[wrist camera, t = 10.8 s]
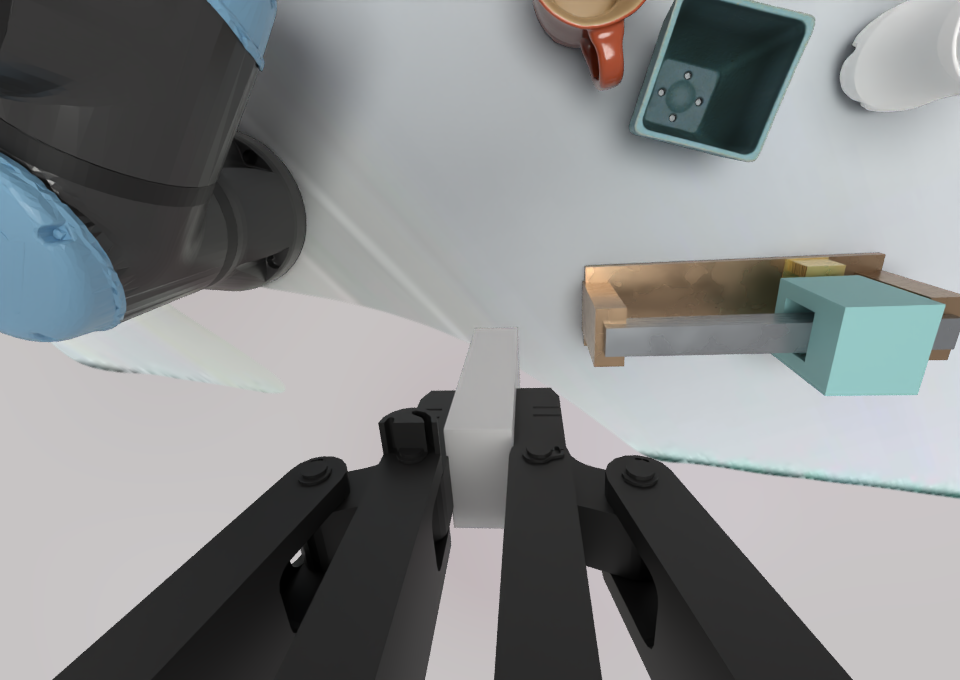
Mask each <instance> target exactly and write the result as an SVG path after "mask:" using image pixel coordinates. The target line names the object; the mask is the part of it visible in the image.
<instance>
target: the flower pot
mask: <svg viewBox="0 0 960 680" xmlns="http://www.w3.org/2000/svg"><path fill="white" fill-rule="evenodd" d="M814 26H815V18H814V17H813V16H812V15H810V14H806V13H802V12H797V11H793V10H789V9H785V8H781V7H775V6H771V5H768V4H763V3H759V2H755V1H752V0H674V2H673V4H672V6H671V8H670V10H669V12H668V14H667V16H666V18H665V20H664V22H663V25H662V27H661V30H660V33H659V36H658V40H657V43H656V46H655V49H654V52H653V55H652V58H651V61H650V64H649V67H648V70H647V73H646V76H645V79H644V82H643V85H642V89H641V92H640V95H639V98H638V101H637V104H636V107H635V110H634V113H633V115H632V118H631V121H630V125H629V130H630V132H631V133H633V134H635V135H638V136H642V137H646V138H650V139H654V140H658V141H662V142H666V143H670V144H674V145H678V146H682V147H685V148H689V149H693V150H697V151H701V152H705V153H709V154H712V155H716V156H720V157H725V158H730V159H735V160H739V161H745V162H753V161H755V160H756V159H757V158H758V156H759V154H760V152H761V150H762V147H763V145H764V142H765V140H766V138H767V135H768V133H769V131H770V128H771V126H772V123H773V121H774V118H775V116H776V113H777V111H778V109H779V106H780V104H781V102H782V99H783V97H784V95H785V93H786V91H787V88H788V86H789V84H790V81H791V79H792V77H793V74H794V72H795V69H796V67H797V65H798V63H799V61H800V58H801V56H802V54H803V52H804V50H805V47H806V45H807V43H808V41H809V39H810V37H811V35H812V32H813V29H814ZM687 72H689V73H691V77H690V78H689V79H686V78H685V74H686V73H687ZM660 89H663V90H664V91H665V93H664V95H663V96H660V95H659V94H658V92H659V90H660ZM697 99H701V100H702V103H701V104H700V105H696V103H695V102H696V100H697ZM671 115H675V116H676V119H675V120H674V121H673V122H671V121H670V120H669V117H670V116H671Z"/></svg>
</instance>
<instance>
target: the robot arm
mask: <svg viewBox="0 0 960 680" xmlns="http://www.w3.org/2000/svg"><path fill="white" fill-rule="evenodd" d="M276 11H277V1H276V0H0V332H1V333H4V334H7V335H10V336H13V337H16V338H20V339H24V340H29V341H38V342H53V341H63V340H68V339H72V338H75V337H78V336H81V335H84V334H87V333H91V332H94V331H106V330H109V329H112V328H114V327H116V326H117V325H118V324H120V323H121V322H124V321H126V320H128V319H131V318H133V317H136V316H138V315H141V314H143V313H146V312H148V311H150V310H153V309H155V308H158V307H160V306H163V305H165V304H168V303H170V302H172V301H175V300H177V299H180V298H182V297H185V296H187V295H190V294H192V293H195V292H197V291H200V290H202V289H210V290H224V291H244V290H250V289H254V288H258V287H261V286H263V285H265V284H267V283H269V282H272V281H274V280H276V279H277V278H279V277H281V276H282V275H283V274H285V273H286V272H287V271H288V270H289V269H290V268H291V267H292V265H293V264H294V263H295V261H296V260H297V258H298V256H299V254H300V252H301V249H302V246H303V243H304V238H305V231H306V217H305V210H304V205H303V201H302V197H301V194H300V192H299V189H298V187H297V185H296V183H295V181H294V179H293V177H292V175H291V174H290V172H289V171H288V169H287V168H286V166H285V165H284V164H283V163H282V161H281V160H280V159H279V158H278V157H277V156H276V155H275V154H274V153H273V152H272V151H271V150H270V149H268V148H267V147H266V146H264V145H263V144H262V143H260V142H259V141H257V140H255V139H254V138H252V137H250V136H248V135H245V134H243V133H240V132H237V131H236V130H237V128H238V125H239V122H240V120H241V117H242V114H243V112H244V109H245V106H246V104H247V101H248V98H249V96H250V93H251V90H252V88H253V85H254V82H255V80H256V77H257V74H258V72H259V70H260V71H262V70H263V68H264V63H265V62H264V59H263V55H264V52H265V49H266V45H267V42H268V39H269V36H270V33H271V29H272V26H273V23H274V20H275V17H276ZM378 424H379V430H380V435H381V442H382V448H383V454H384V455H383V457H382V459H381V461H380V463H379V464H378V465H376V466H372V467H368V468H364V469H359V470H354V471H349V472H348V471H347V466H346V464H345V463H344V462H343V460H341V459H339V458H336V457H325V456H324V457H318V458H313V459H310V460H308V461H305V462H303V463H300V464H299V465H297V466H296V467H294V468H293V469H292V470H290V471H289V472H288V473H287V474H286V475H284V476H283V478H281V479H280V480H279V481H278V482H277V483H275V484H274V485H273V486H272V487H271V488H270V489H269V490H267V491H266V492H265V493H264V494H263V495H262V496H261V497H260V498H258V499H257V500H256V501H255V502H254V503H253V504H252V505H250V506H249V507H248V508H247V509H246V510H245V511H244V512H242V513H241V514H240V515H239V516H238V517H237V518H236V519H234V520H233V521H232V522H231V523H230V524H229V525H228V526H226V527H225V528H224V529H223V530H222V531H221V532H220V533H219V534H217V535H216V536H215V537H214V538H213V539H212V540H211V541H210V542H208V543H207V544H206V545H205V546H204V547H203V548H202V549H200V550H199V551H198V552H197V553H196V554H195V555H194V556H192V557H191V558H190V559H189V560H188V561H187V562H186V563H185V564H183V565H182V566H181V567H180V568H179V569H178V570H177V571H175V572H174V573H173V574H172V575H171V576H170V577H169V578H167V579H166V580H165V581H164V582H163V583H162V584H161V585H159V587H157V588H156V589H155V590H154V591H153V592H151V593H150V594H149V595H148V596H147V597H146V598H145V599H144V600H142V601H141V602H140V603H139V604H138V605H137V606H136V607H135V608H133V609H132V610H131V611H130V612H129V613H128V614H127V615H126V616H124V617H123V618H122V619H121V620H120V621H119V622H117V623H116V624H115V625H114V626H113V627H112V628H111V629H109V630H108V631H107V632H106V633H105V634H104V635H103V636H102V637H100V638H99V639H98V640H97V641H96V642H95V643H94V644H92V645H91V646H90V647H89V648H88V649H87V650H86V651H84V652H83V653H82V654H81V655H80V656H79V657H78V658H76V660H74V661H73V662H72V663H71V664H70V665H69V666H67V668H65V669H64V670H63V671H62V672H61V673H60V674H58V675H57V676H56V677H55V678H54V679H53V680H425V676H426V670H427V666H428V661H429V656H430V650H431V645H432V640H433V635H434V630H435V624H436V619H437V615H438V609H439V604H440V599H441V594H442V589H443V584H444V579H445V574H446V568H447V563H448V558H449V553H450V548H451V536H450V527H449V526H450V521H451V517H452V512H453V521H454V527H455V528H456V527H457V528H501V529H503V528H504V540H503V555H502V570H501V584H500V599H499V600H500V601H499V614H498V631H497V646H496V661H495V675H494V680H602V676H601V669H600V662H599V655H598V648H597V641H596V634H595V627H594V620H593V613H592V606H591V599H590V592H589V586H588V578H587V571H586V566H588V567H592V568H595V569H598V570H602V573H603V577H604V580H605V583H606V585H607V587H608V589H609V591H610V593H611V595H612V597H613V600H614V601H615V604H616V606H617V608H618V610H619V612H620V614H621V616H622V618H623V621H624V623H625V625H626V627H627V629H628V631H629V633H630V636H631V638H632V640H633V642H634V644H635V646H636V648H637V650H638V653H639V655H640V657H641V659H642V661H643V663H644V665H645V667H646V670H647V672H648V674H649V676H650V678H651V680H853V679H852V678H851V677H850V676H849V675H848V674H847V673H846V671H845V670H844V669H843V668H842V667H841V666H840V665H839V663H838V662H837V661H836V660H835V659H834V657H833V656H832V655H831V654H830V653H829V652H828V651H827V650H826V648H825V647H824V646H823V645H822V644H821V642H820V641H819V640H818V639H817V638H816V637H815V636H814V634H813V633H812V632H811V631H810V630H809V629H808V628H807V626H806V625H805V624H804V623H803V622H802V621H801V619H800V618H799V617H798V616H797V615H796V614H795V613H794V611H793V610H792V609H791V608H790V607H789V606H788V605H787V603H786V602H785V601H784V600H783V599H782V598H781V596H780V595H779V594H778V593H777V592H776V591H775V589H774V588H773V587H772V586H771V585H770V584H769V583H768V582H767V580H766V579H765V578H764V577H763V576H762V575H761V573H760V572H759V571H758V570H757V569H756V568H755V567H754V565H753V564H752V563H751V562H750V561H749V560H748V558H747V557H746V556H745V555H744V554H743V553H742V552H741V550H740V549H739V548H738V547H737V546H736V545H735V544H734V542H733V541H732V540H731V539H730V538H729V536H727V534H726V533H725V532H724V531H723V530H722V528H721V527H720V526H719V525H718V524H717V523H716V522H715V521H714V519H713V518H712V517H711V516H710V515H709V514H708V512H707V511H706V510H705V509H704V508H703V507H702V505H701V504H700V503H699V502H698V501H697V500H696V498H695V497H694V496H693V495H692V494H691V493H690V492H689V491H688V489H687V488H686V487H685V486H684V485H683V484H682V483H681V481H680V480H679V479H678V478H677V477H676V475H674V473H673V472H672V471H671V470H670V469H669V468H668V467H666V466H665V465H664V464H663V463H661V462H659V461H656V460H654V459H652V458H648V457H643V456H638V455H637V456H636V455H633V456H623V457H619V458H616V459H614V460H613V461H612V462H610V463H609V464H608V466H607V468H606V470H604V469H600V468H595V467H591V466H588V465H585V464H583V463H581V462H579V461H577V460H575V459H574V458H573V457H572V456H571V455H570V453H569V451H568V449H567V448H566V444H565V437H564V429H563V422H562V415H561V408H560V400H559V396H558V395H557V394H556V393H555V392H554V391H553V390H552V389H551V388H520V374H519V348H518V327H507V328H475V331H474V334H473V337H472V340H471V343H470V347H469V350H468V353H467V356H466V359H465V363H464V366H463V369H462V373H461V375H460V379H459V382H458V385H457V388H456V391H431V392H430V393H428V394H427V395H426V396H424V397H423V398H422V399H421V400H420V403H419V405H418V407H417V408H406V409H401V410H398V411H394V412H392V413H390V414H388V415H386V416H385V417H383V419H382V420H381V421H380V422H379V423H378ZM300 549H301V553H302V555H301V556H300V557H299V558H298V559H297V560H296V561H295V562H294V563H293V564H291V563H290V560H291V559H292V558H293V557H294V555H295V554H296V553H297V552H298V551H299V550H300Z"/></svg>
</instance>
